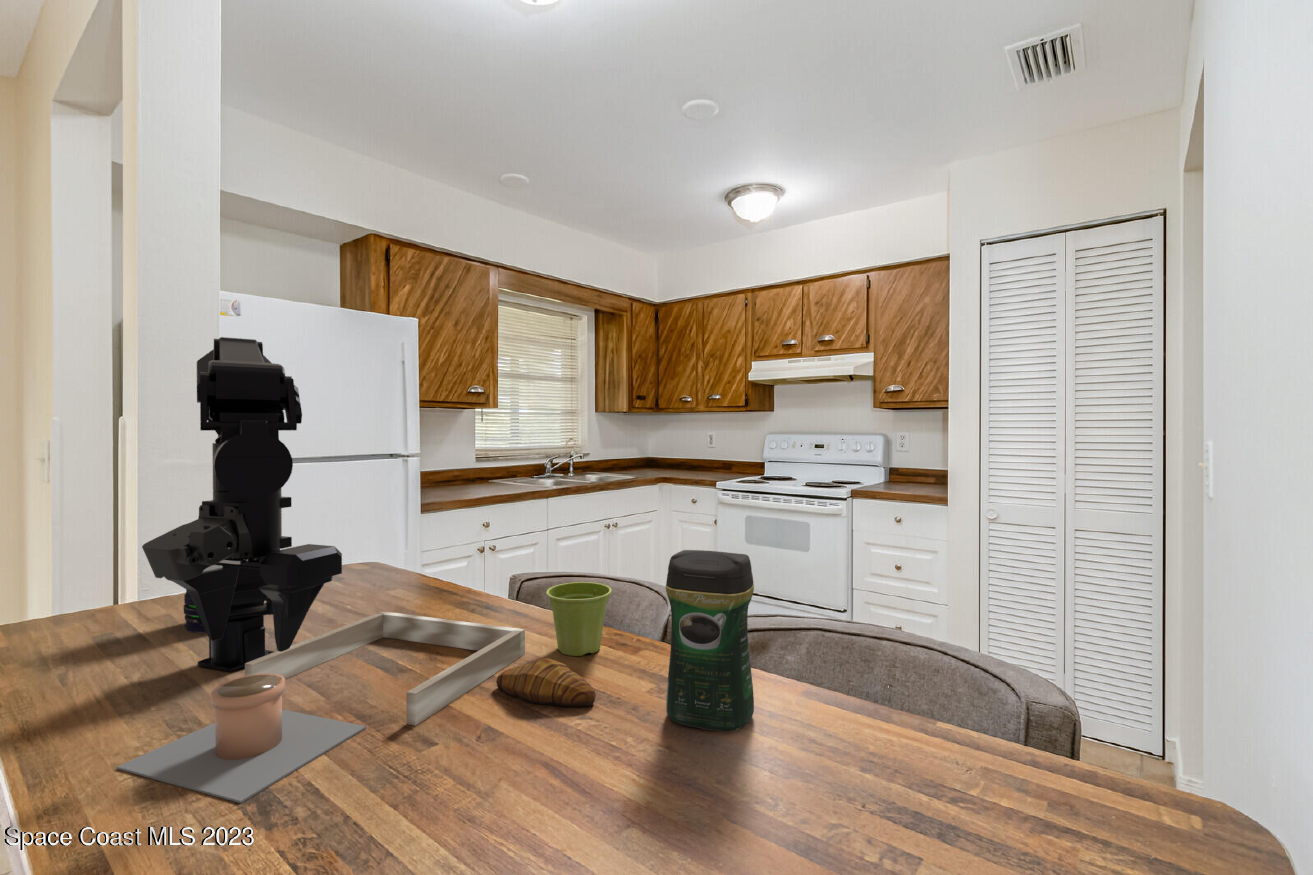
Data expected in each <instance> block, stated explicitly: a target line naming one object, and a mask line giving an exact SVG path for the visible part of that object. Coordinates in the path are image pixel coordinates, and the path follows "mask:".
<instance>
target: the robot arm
mask: <svg viewBox="0 0 1313 875" xmlns="http://www.w3.org/2000/svg"><path fill="white" fill-rule="evenodd" d="M263 351H264V345H263V342H262V341H257V339H251V338H241V337H240V338H239V337H238V338H236V337H224V336H221V337H219V338H213V348H212V349H211V350H210V351H209V352H207V353H206V354H205V355H204V356H202V357H200V358H199V359H197V361H196V403H198V404H199V405H200V407H199V409H200V411H199V412H200V413H199V414H200V418H199V420H200V422H199V424H200V431H214V432H215V433H216V434H217V438H215V440H214V442H213V443H212V447H211V448H212V449H211V450H212V500H211V499H210V500H203V501H201V504H200V505H199V507H198V518H197V519H195V520H193V521H191V522H188V523H184V524H182V525H179V526H177V527H176V528H173V529H171V530H169V531H167V532H165V533H164V534H161V535H159V536H157V537H155V538H153V539H151V540H149V541H147V542H145V543H144V544H143V545H142V547H141V548H142V550H143V552H144V555H145V557H146V559H147V562H148V564H149V566H150V569H151V571H152V573H153V575H154V577H155V578H156V579H163V578H165V579H166V580H167V581H169V582H173V583H175V584H177V586H180V587H181V588H183V589H185V590H187V591H188V592H189V594H190V596H191V598H192V600H193V602H194V604H195V606H196V609H197V611H198V613H199V626H200V625H204V628H205V630H206V632H207V633H206V635H207V637H208V657H207V658H205V659H200V660H198V661H197V667H204V668H209V669H214V670H219V671H225V672H233V671H237V670H239V669H241V668H245V663H248V662H250V661H253V660H255V659H258V658H261V657H263V656H266V655H269V654H271V653H274V652H275V651H274V650H268V649H266V627H265V616H271V615H272V618H273V620H272V621H273V632H274V640H275V645H276V650H277V651H280V652H282V651H285V650H287V649H289V648H290V646H292V644H293V643H294V640H295V638H296V636H297V634H298V633H299V630H300V628H301V626H302V624H303V622H304V620H305V618H306V616H307V614H308V612H309V610H310V608H311V607H312V605H313V603H314V602H315V600H316V599H317V597H318V595H319V593H320V591H321V590H322V589H323V587H324V585H325V584H327V583H330V582H332V581H333V577H334V576H337V575H341V574H343V553H342V552H341V551H340V550H339V549H338V548H337V547H336V546H335V545H324V544H315V543H314V544H312V543H308V544H302V545H298V546H293V545H292V544H293V541H292V540H293V539H292V538H293V537H292V536H286V535H285V536H284V535H282V534H283V533H282V529H283V528H282V526H283V525H282V524H283V523H282V518H283V516H282V514H283V513H282V509H287V508H291V507H292V497H291V496H282V488H283V487H284V486H285V485H286V483H287V482H288V481H289V480H290V478H291V475H292V473H293V466H294V464H293V463H294V462H293V461H294V460H293V457H292V454H291V452H290V450H289V449H288V447H287V446H286V445H285V443H283V442H282V441H281V440H280V437H279V436H280V435H279V434H280V432H279V431H298V430H297V429H298V425H299V424H302V419H303V411H302V405H301V398H300V392H299V387H297V385H295V383H294V378H293V377H292V376H289V375H286V372H285V371H286V370H285V368H284V366H283V365H282V364H279V363H273V362H271V360H269V359H268V358H267V356H265V355H264V352H263ZM285 418H286V421H285ZM277 651H276V652H277Z"/></svg>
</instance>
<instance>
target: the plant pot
mask: <svg viewBox="0 0 1313 875" xmlns="http://www.w3.org/2000/svg"><path fill="white" fill-rule="evenodd" d="M612 589H613V588H611V587H610V586H609V585H607V584H605V583H600V582H590V581H589V582H587V581H577V582H567V583H565V582H564V583H561V584H557V585H554V586H551V587H549V588H548V589H547V590H546V597H547V598H548V599H549V605H550V607H551V611H552V616H553V622H554V630H555V637H556V644H557V650H558V651H560V652H561V653H562V654H563V655H565V656H570V657H571V656H573V657H581V656H584V655H586V654H589V653H590V654H595V653H597V652H599V651H600V649H601V643H602V637H603V629H604V623H605V622H604V621H605V615H606V610H607V609H606V607H607V604H608V602H609V597H610V596H611V594H612Z"/></svg>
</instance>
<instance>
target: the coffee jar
mask: <svg viewBox="0 0 1313 875" xmlns="http://www.w3.org/2000/svg"><path fill="white" fill-rule="evenodd" d="M668 562H669V563H668V567H667V568H668V569H667V575H666V581H665V592H666V596H667V599H668V602H669V606H670V616H671V618H670V619H671V635H670V636H671V638H670V651H669V665H668V673H667V674H668V675H667V683H666V698H665V700H666V701H665V711H666V714H667V717H668V718H669V719H671V721H673V722H674V723H677V724H680V725H684V726H687V727H692V728H698V729H703V730H711V731H717V732H727V733H729V732H734V731H737V730H739V729H742V728H744V727H745V726H747V725H748V724H749V723H750V721H751V720H752V717H753V714H754V711H755V698H754V685H753V684H754V683H753V676H752V675H753V674H752V665H751V658H750V647H749V645H750V644H749V635H748V634H749V632H748V631H749V630H748V625H749V624H748V616H749V615H748V614H749V611H748V610H749V606H750V603H751V600H752V598H753V596H754V591H755V584H754V577H753V572H752V568H753V567H752V564H751V563H752V562H751V559H750V557H749V555H748V554H745V553H737V552H726V551H725V552H724V551H715V550H702V549H700V550H699V549H683V550H680V551H678V552H676V553H674V554H673V555H671V557H670V558H669V561H668Z"/></svg>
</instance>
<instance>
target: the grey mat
mask: <svg viewBox="0 0 1313 875" xmlns="http://www.w3.org/2000/svg"><path fill="white" fill-rule="evenodd" d="M366 729H367V726H365V725H361V724H357V723H352V722H346V721H342V720H337V719H332V718H327V717H326V718H325V717H321V716H317V715H313V714H312V715H311V714H309V713H308V714H307V713H303V712H297V711H292V710H288V709H283V708H282V740H281V742H280V743H279V744H278V745H277V746H276V747H274V748H273V749H271V750H269V751H267V752H265V753H262V754H260V755H257V756H253V757H250V758H245V759H238V760H225V759H221V758H218V757H217V756H216V742H215V722H213V723H211V724H208V725H207V726H204V727H201V728H199V729H197V730H195V731H193V732H190V733H188V734H187V735H184V736H182V737H180V738H178V739H174V740H173V741H171V742H169V743H166V744H164V745H162V746H160V747H157V748H156V749H153V750H151V751H148V752H147V753H144V754H142V755H140V756H137V757H135V758H134V759H131V760H129V761H126V762H124V763H122V764H120V765H117V767H116V770H118V771H124V772H126V773H129V774H130V773H131V774H135V775H137V776H141V777H144V778H147V779H153V780H156V781H159V782H162V783H166V784H169V785H172V786H177V787H181V788H184V789H188V790H191V791H196V792H199V793H203V794H206V795H209V796H213V797H217V798H220V799H224V800H228V801H231V802H235V803H238V804H242V803H244V802H246V801H248V800H249V799H251V798H252V797H254V796H255V795H257V794H259V793H261V792H262V791H264V790H266V789H267V788H269V787H270V786H273V785H274V784H276V783H277V782H279V781H280V780H282V779H284V778H285V777H288V776H289V775H290V774H292V773H294V772H296V771H297V770H299V769H300V768H302V767H304V766H306V765H307V764H309V763H310V762H312V761H314V760H316V759H317V758H319V757H321V756H322V755H324V754H325V753H328V752H329V751H331V750H333V749H334V748H335V747H337V746H339V745H341V744H343V743H344V742H346V741H347V740H349V739H351V738H352V737H354V736H356V735H358V734H359V733H360V732H361V733H362V731H364V730H366Z"/></svg>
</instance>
